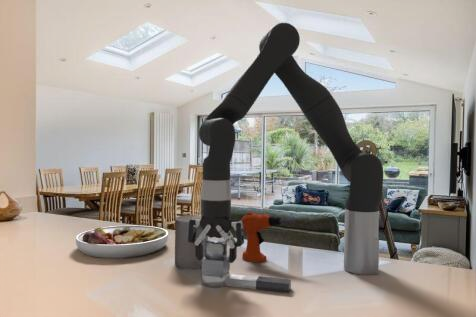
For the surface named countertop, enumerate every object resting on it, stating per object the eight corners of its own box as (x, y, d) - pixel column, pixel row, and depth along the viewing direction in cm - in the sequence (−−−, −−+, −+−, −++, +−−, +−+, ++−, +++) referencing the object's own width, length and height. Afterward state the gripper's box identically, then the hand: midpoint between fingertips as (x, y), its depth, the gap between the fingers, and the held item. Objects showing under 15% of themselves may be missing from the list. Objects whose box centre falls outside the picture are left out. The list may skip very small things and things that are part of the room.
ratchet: (291, 285, 98) (292, 262, 98) (287, 295, 91) (287, 270, 91) (207, 276, 104) (207, 254, 104) (197, 285, 97) (197, 261, 97)
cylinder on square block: (229, 270, 102) (229, 239, 101) (223, 277, 96) (223, 245, 96) (209, 268, 103) (209, 238, 103) (201, 275, 98) (202, 243, 98)
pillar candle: (174, 259, 119) (174, 211, 119) (205, 258, 121) (206, 210, 121) (175, 270, 110) (175, 217, 109) (210, 268, 112) (210, 216, 111)
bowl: (120, 235, 153) (120, 215, 153) (185, 244, 140) (185, 222, 140) (55, 253, 126) (55, 229, 126) (127, 266, 113) (127, 239, 113)
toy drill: (297, 264, 111) (291, 211, 112) (239, 262, 120) (234, 213, 121) (303, 260, 115) (297, 209, 116) (247, 258, 125) (242, 211, 125)
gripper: (247, 196, 101) (246, 259, 101) (195, 194, 105) (195, 254, 105) (239, 200, 94) (238, 267, 94) (184, 197, 98) (183, 262, 98)
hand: (215, 260), depth 100 cm, fingers open, 8 cm apart
